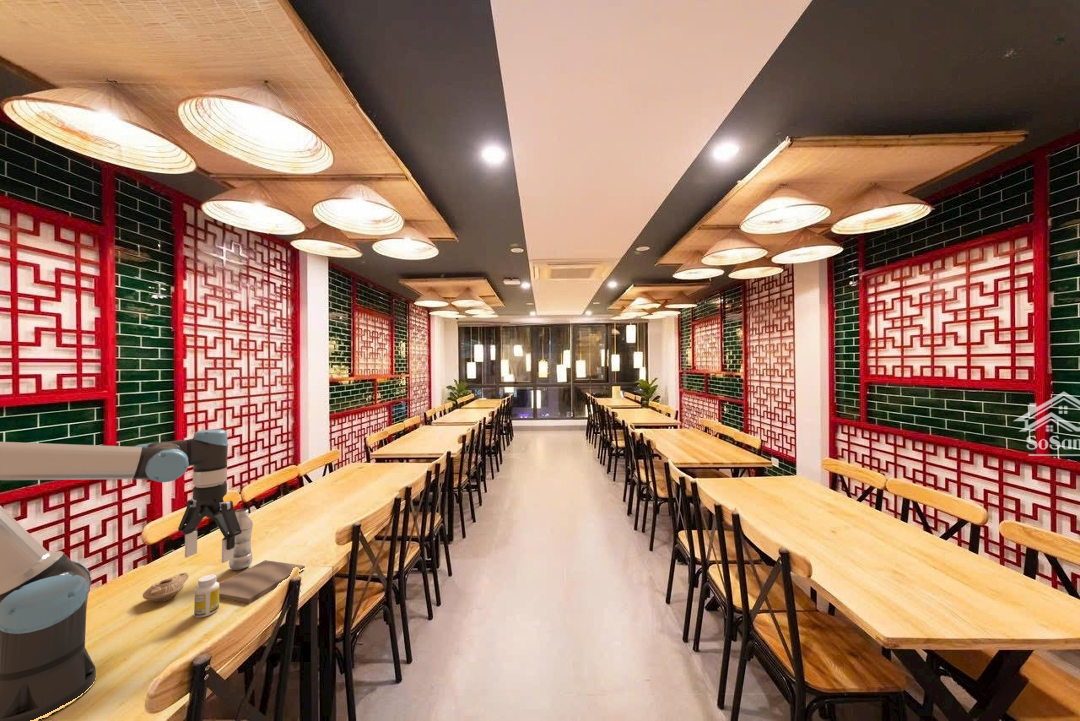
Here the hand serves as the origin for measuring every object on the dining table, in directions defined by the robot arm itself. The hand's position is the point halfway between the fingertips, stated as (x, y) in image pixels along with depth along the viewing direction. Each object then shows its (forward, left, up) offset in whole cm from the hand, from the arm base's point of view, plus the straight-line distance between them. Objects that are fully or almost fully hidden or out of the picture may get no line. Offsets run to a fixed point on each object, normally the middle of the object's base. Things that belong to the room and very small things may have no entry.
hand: (209, 557), depth 111 cm
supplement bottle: (0, 0, -16) cm, 16 cm away
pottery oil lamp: (+4, +20, -16) cm, 26 cm away
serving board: (+16, +1, -15) cm, 22 cm away
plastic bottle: (+22, +15, -16) cm, 31 cm away
